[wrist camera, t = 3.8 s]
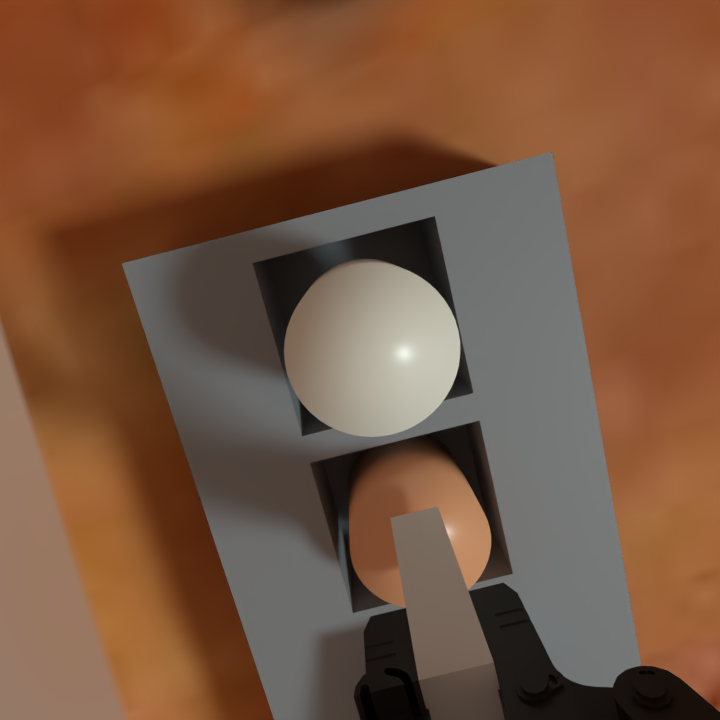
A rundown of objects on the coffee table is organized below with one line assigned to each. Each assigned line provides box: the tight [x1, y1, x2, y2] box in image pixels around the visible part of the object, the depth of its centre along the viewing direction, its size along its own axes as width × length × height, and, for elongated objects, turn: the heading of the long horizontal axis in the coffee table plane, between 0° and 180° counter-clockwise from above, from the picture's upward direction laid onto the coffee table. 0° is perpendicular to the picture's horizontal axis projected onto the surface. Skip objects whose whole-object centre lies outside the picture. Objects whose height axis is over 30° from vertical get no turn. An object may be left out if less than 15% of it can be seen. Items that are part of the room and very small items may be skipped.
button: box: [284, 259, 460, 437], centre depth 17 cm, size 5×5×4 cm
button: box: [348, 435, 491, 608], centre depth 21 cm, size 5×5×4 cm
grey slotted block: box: [122, 152, 641, 720], centre depth 22 cm, size 26×14×6 cm, turn 14°
